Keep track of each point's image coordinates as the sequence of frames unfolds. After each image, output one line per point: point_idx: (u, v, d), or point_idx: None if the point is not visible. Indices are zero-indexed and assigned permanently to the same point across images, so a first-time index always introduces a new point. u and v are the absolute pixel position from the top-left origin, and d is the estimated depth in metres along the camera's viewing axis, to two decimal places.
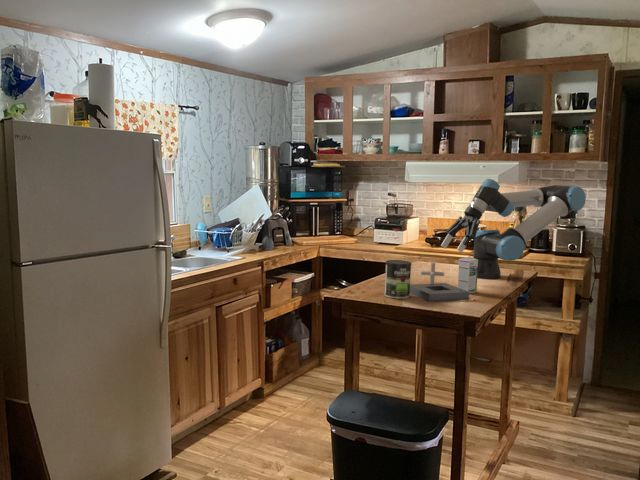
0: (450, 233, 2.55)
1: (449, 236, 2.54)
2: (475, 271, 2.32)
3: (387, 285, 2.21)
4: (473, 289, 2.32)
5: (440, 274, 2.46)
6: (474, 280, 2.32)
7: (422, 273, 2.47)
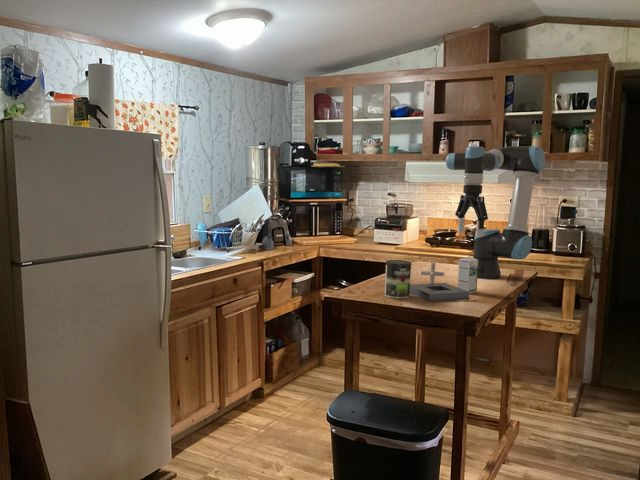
0: (460, 216, 2.37)
1: (461, 220, 2.36)
2: (475, 271, 2.32)
3: (387, 285, 2.21)
4: (473, 289, 2.32)
5: (440, 274, 2.46)
6: (474, 280, 2.32)
7: (422, 273, 2.47)
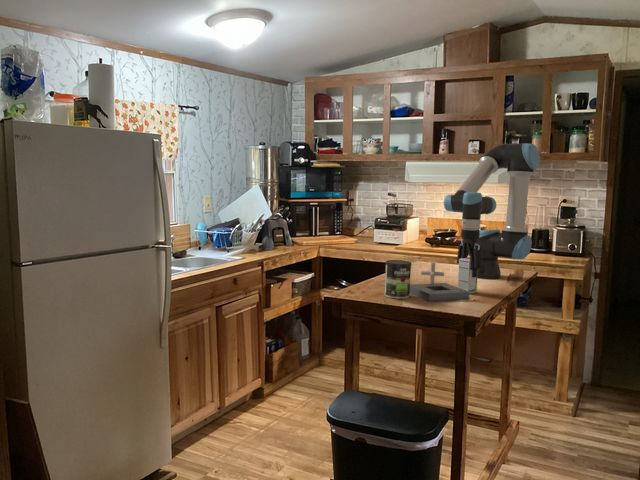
0: None
1: None
2: None
3: (387, 285, 2.21)
4: (473, 289, 2.32)
5: (440, 274, 2.46)
6: None
7: (422, 273, 2.47)
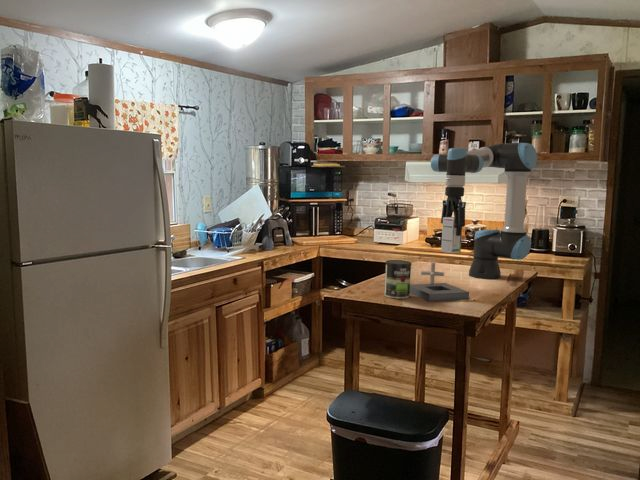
0: None
1: None
2: None
3: (387, 285, 2.21)
4: (457, 249, 2.25)
5: (440, 274, 2.46)
6: None
7: (422, 273, 2.47)
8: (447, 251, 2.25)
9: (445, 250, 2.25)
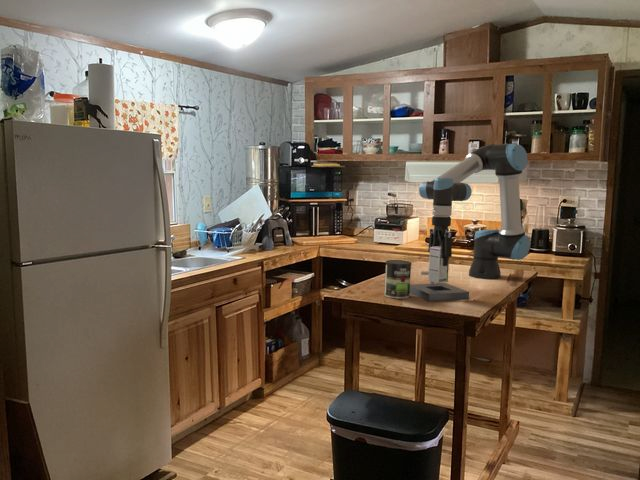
0: None
1: None
2: None
3: (387, 285, 2.21)
4: (444, 279, 2.23)
5: None
6: None
7: (422, 273, 2.47)
8: (434, 281, 2.23)
9: (432, 280, 2.24)
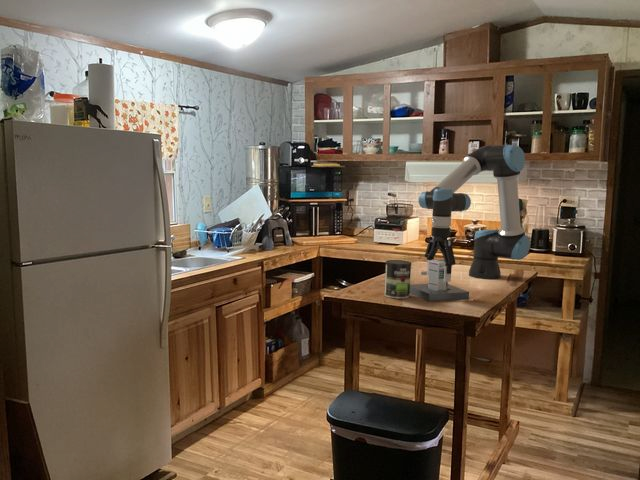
0: (429, 258, 2.31)
1: None
2: None
3: (387, 285, 2.21)
4: None
5: None
6: (444, 283, 2.24)
7: (422, 273, 2.47)
8: None
9: None
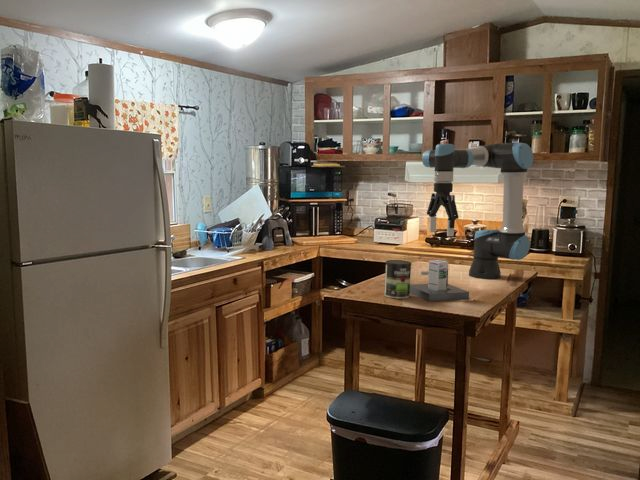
0: (432, 214, 2.32)
1: (432, 218, 2.32)
2: (445, 274, 2.24)
3: (387, 285, 2.21)
4: None
5: None
6: (444, 283, 2.24)
7: (422, 273, 2.47)
8: None
9: None
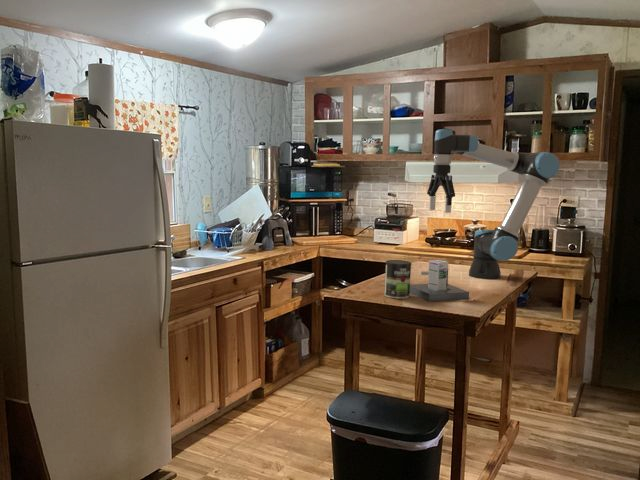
0: (431, 194, 2.56)
1: (432, 198, 2.55)
2: (445, 274, 2.24)
3: (387, 285, 2.21)
4: None
5: None
6: (444, 283, 2.24)
7: (422, 273, 2.47)
8: None
9: None
